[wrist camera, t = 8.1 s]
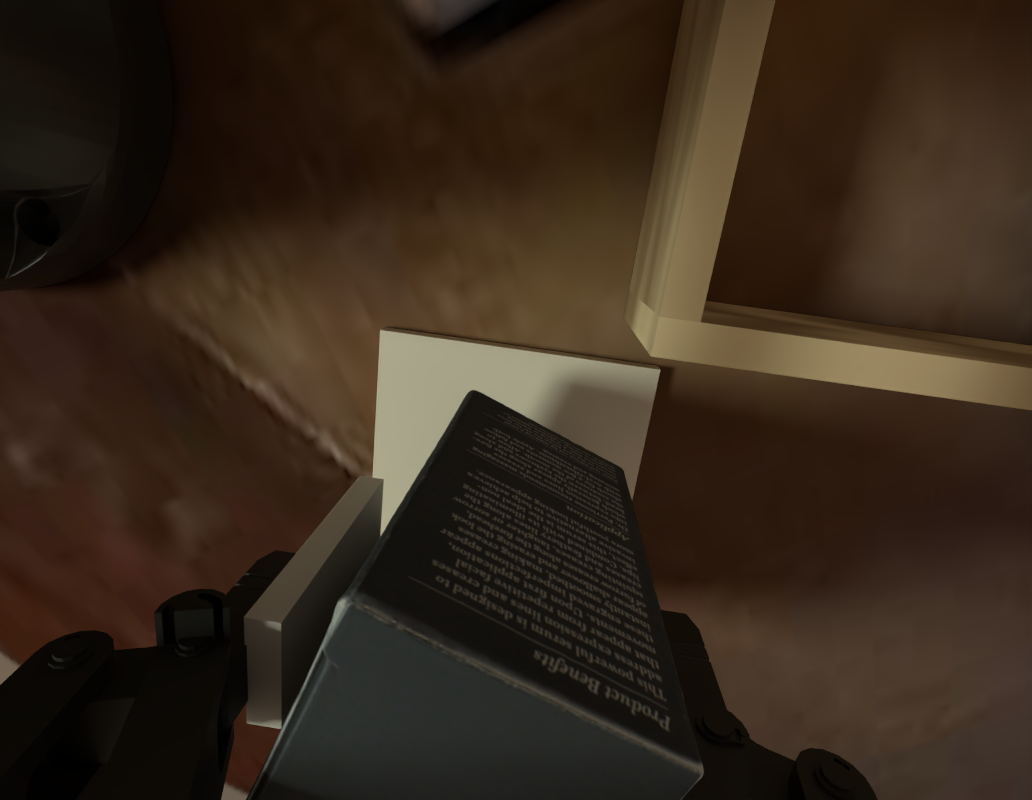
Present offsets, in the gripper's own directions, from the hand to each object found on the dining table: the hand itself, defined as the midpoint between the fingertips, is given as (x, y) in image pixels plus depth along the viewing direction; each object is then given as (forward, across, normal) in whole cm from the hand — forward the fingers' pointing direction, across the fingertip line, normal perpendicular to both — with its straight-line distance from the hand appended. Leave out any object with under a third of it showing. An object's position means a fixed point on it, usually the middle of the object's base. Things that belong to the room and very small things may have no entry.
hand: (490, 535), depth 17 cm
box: (+1, 0, 0) cm, 1 cm away
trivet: (+5, 0, 0) cm, 5 cm away
